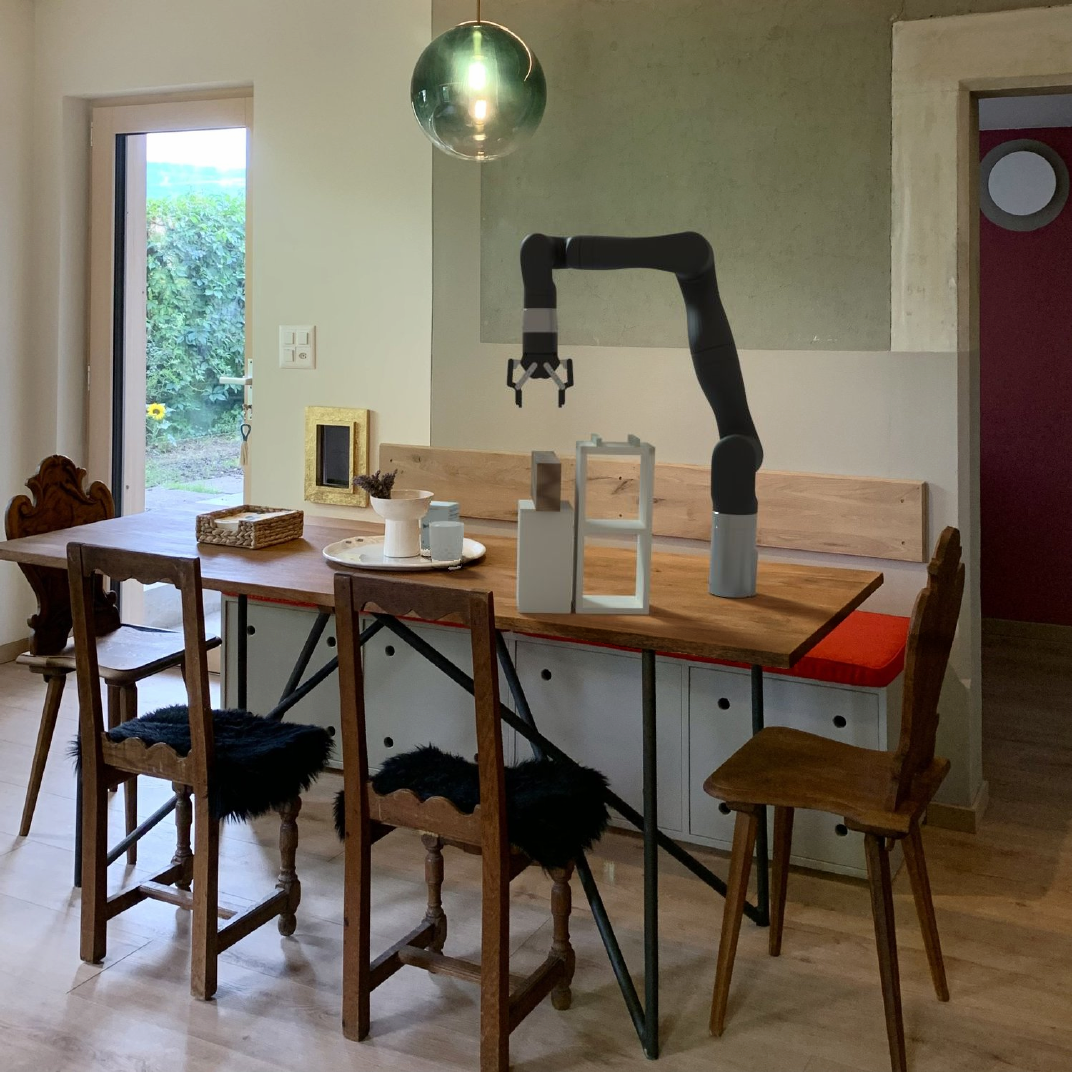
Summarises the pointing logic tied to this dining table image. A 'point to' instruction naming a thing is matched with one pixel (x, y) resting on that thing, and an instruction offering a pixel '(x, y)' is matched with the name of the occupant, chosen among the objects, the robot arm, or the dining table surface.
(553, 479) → the walnut block
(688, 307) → the robot arm
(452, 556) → the pale blue cup
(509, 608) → the dining table surface
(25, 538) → the dining table surface
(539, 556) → the step shelf
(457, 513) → the supplement box
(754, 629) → the dining table surface
